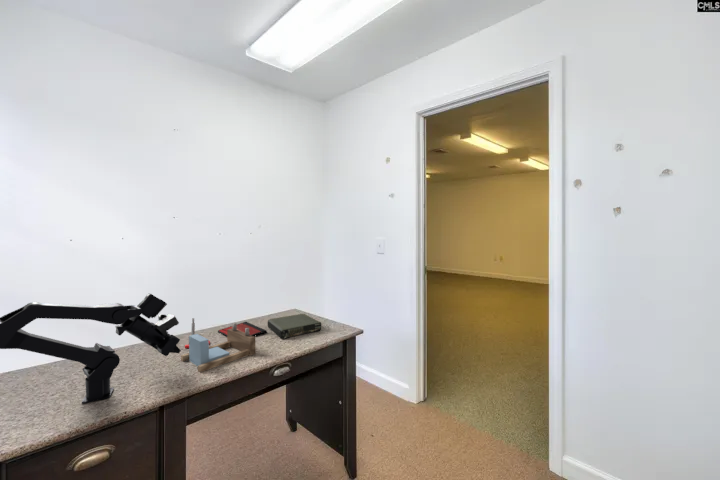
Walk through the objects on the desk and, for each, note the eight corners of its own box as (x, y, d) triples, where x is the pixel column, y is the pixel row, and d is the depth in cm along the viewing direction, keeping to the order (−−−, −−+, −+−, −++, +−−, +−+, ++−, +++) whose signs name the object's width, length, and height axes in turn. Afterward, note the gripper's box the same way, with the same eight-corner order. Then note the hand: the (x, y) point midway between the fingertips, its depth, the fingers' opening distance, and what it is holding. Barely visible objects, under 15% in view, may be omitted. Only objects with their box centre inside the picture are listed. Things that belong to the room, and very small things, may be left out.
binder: (246, 320, 164) (267, 329, 150) (246, 325, 165) (267, 334, 150) (215, 329, 153) (235, 339, 138) (216, 333, 153) (235, 344, 139)
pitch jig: (201, 373, 109) (200, 345, 108) (180, 359, 120) (179, 334, 119) (255, 353, 126) (255, 329, 125) (232, 343, 137) (232, 321, 136)
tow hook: (197, 341, 140) (182, 348, 131) (197, 313, 141) (183, 318, 131) (213, 342, 139) (200, 349, 130) (214, 314, 139) (200, 319, 130)
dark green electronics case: (284, 342, 140) (284, 331, 140) (261, 329, 157) (261, 320, 157) (325, 330, 156) (325, 320, 155) (301, 320, 173) (301, 311, 173)
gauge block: (200, 368, 113) (200, 341, 112) (189, 361, 119) (188, 335, 119) (229, 358, 121) (229, 333, 121) (217, 352, 127) (217, 328, 127)
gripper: (172, 313, 101) (207, 337, 110) (152, 304, 112) (185, 327, 121) (145, 344, 95) (184, 366, 104) (126, 331, 106) (163, 353, 115)
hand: (179, 351), depth 111 cm, fingers closed
